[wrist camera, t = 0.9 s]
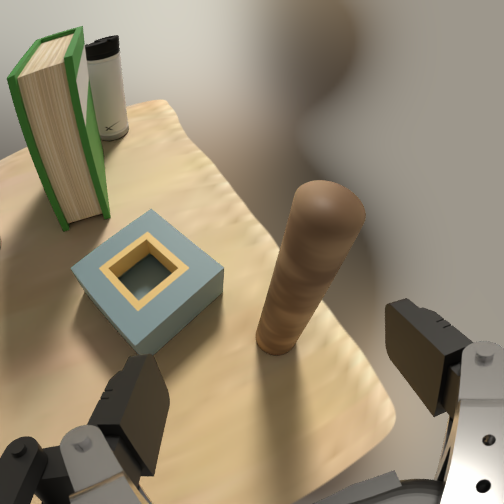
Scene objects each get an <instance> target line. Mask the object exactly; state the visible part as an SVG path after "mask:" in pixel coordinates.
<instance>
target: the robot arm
mask: <svg viewBox="0 0 504 504" xmlns="http://www.w3.org/2000/svg"><path fill="white" fill-rule="evenodd" d="M0 248H1V238H0ZM385 343H386V349H387V353H388V356H389V358H390V360H391V361H392V362H393V364H394V365H395V366H396V367H397V369H398V370H399V371H400V373H401V374H402V375H403V376H404V378H405V379H406V380H407V382H408V383H409V384H410V386H411V387H412V388H413V390H414V391H415V392H416V394H417V395H418V396H419V398H420V399H421V400H422V402H423V403H424V404H425V406H426V407H427V409H428V410H429V411H430V413H431V414H432V415H433V417H435V416H438V415H440V414H442V413H444V412H447V413H448V414H449V419H448V422H447V428H446V433H445V438H444V443H443V448H442V453H441V457H440V461H439V465H438V468H437V472H436V475H435V478H434V480H429V479H409V480H400V481H399V479H398V477H397V475H396V473H395V471H391V472H388V473H386V474H383V475H380V476H377V477H374V478H372V479H368V480H365V481H362V482H359V483H356V484H353V485H350V486H348V487H346V488H345V489H343V490H341V491H339V492H337V493H335V494H333V495H331V496H328V497H326V498H324V499H322V500H320V501H318V502H316V503H313V504H504V349H503V348H502V347H501V346H500V345H498V344H496V343H493V342H489V341H479V342H474V343H473V342H472V341H471V340H470V339H468V338H467V337H466V336H465V335H463V334H462V333H461V332H460V331H459V330H457V329H456V328H455V327H454V326H451V324H450V323H449V322H447V321H446V320H444V319H443V318H442V317H441V316H440V315H438V314H437V313H436V312H434V311H431V310H428V309H426V308H419V307H417V306H416V305H415V304H414V303H413V302H411V301H410V300H409V299H407V298H405V299H402V300H399V301H396V302H392V303H389V304H387V305H386V307H385ZM169 405H170V399H169V393H168V389H167V387H166V385H165V382H164V380H163V378H162V375H161V373H160V370H159V368H158V366H157V363H156V361H155V358H154V357H153V355H152V354H143V355H135V356H130V357H129V358H128V360H127V362H126V364H125V366H124V368H123V370H122V371H119V372H118V373H117V374H116V375H114V376H113V377H112V378H111V379H110V380H109V382H108V384H107V386H106V388H105V392H103V394H102V396H101V400H99V401H98V403H97V405H96V407H95V409H94V411H93V413H92V415H91V417H90V419H89V422H88V424H87V425H83V426H79V427H76V428H74V429H72V430H71V431H69V432H68V433H67V434H66V435H65V436H64V437H63V439H62V441H61V443H60V446H55V447H49V448H43V449H42V448H41V446H40V445H39V444H38V442H37V441H36V440H35V439H34V438H32V437H21V438H18V439H16V440H14V441H13V442H11V443H10V444H9V445H8V446H7V448H6V449H5V451H4V453H3V454H2V456H1V458H0V504H30V503H31V500H32V498H33V495H34V494H35V495H36V496H37V497H38V498H39V499H40V500H41V501H42V503H41V504H153V503H152V501H151V500H150V498H149V497H148V496H147V494H146V493H145V491H144V490H143V488H142V487H141V486H140V485H139V480H140V476H154V474H155V469H156V464H157V459H158V455H159V450H160V445H161V441H162V436H163V432H164V427H165V423H166V418H167V414H168V410H169Z"/></svg>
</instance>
